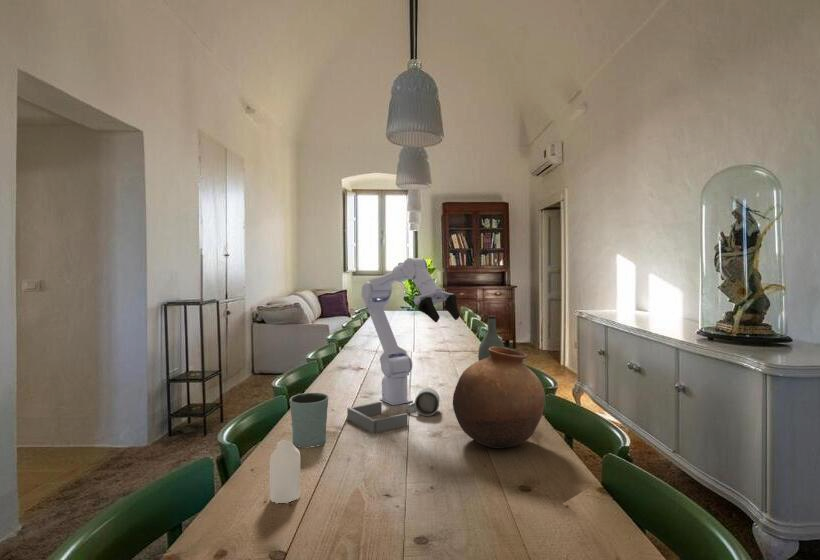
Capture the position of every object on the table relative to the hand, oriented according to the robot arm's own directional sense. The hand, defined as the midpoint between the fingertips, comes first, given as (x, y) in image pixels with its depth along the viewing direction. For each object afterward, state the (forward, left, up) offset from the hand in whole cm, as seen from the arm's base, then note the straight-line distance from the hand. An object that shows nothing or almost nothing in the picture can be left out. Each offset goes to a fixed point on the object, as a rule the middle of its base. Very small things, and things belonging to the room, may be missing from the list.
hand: (447, 318), depth 144 cm
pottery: (+22, -1, -31) cm, 38 cm away
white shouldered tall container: (+19, -57, -31) cm, 68 cm away
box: (-12, -18, -31) cm, 37 cm away
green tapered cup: (-8, -41, -31) cm, 52 cm away
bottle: (-5, +22, -31) cm, 38 cm away
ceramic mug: (-12, -1, -31) cm, 33 cm away
